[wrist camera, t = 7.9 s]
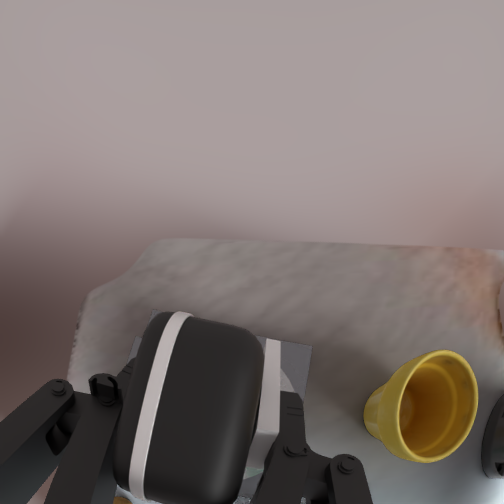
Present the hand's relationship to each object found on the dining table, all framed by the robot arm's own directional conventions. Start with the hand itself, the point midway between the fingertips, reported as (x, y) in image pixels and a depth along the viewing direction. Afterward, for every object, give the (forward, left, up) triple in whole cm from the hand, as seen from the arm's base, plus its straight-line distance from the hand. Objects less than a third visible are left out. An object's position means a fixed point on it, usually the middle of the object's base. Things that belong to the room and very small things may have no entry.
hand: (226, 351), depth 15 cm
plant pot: (-18, +2, -14) cm, 23 cm away
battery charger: (0, +4, -4) cm, 5 cm away
